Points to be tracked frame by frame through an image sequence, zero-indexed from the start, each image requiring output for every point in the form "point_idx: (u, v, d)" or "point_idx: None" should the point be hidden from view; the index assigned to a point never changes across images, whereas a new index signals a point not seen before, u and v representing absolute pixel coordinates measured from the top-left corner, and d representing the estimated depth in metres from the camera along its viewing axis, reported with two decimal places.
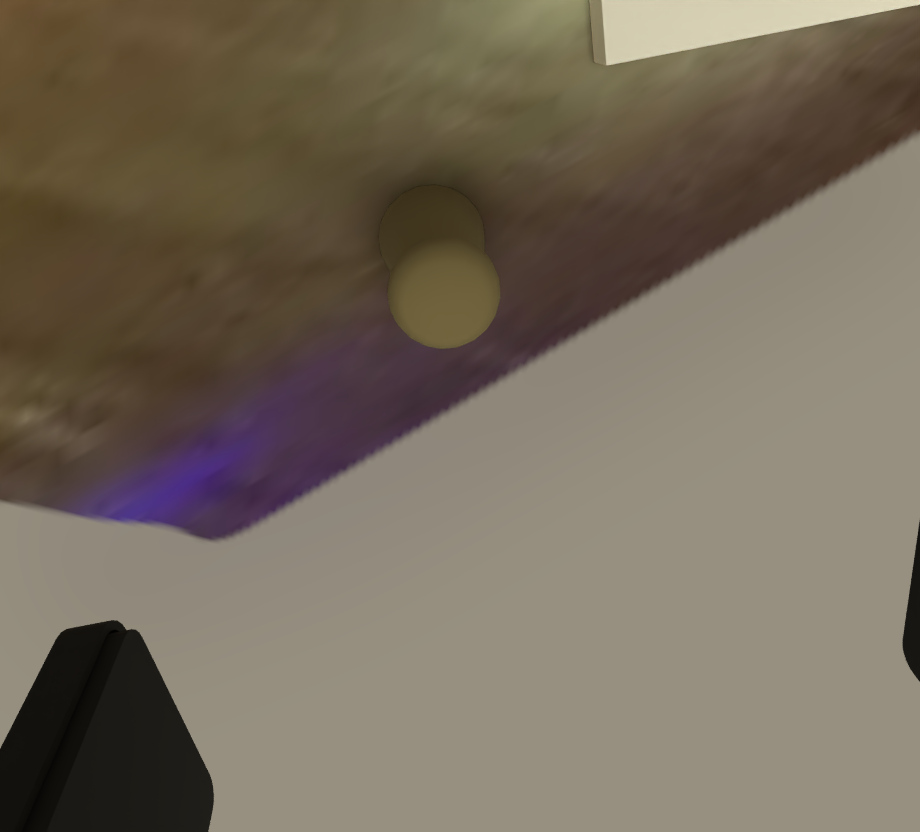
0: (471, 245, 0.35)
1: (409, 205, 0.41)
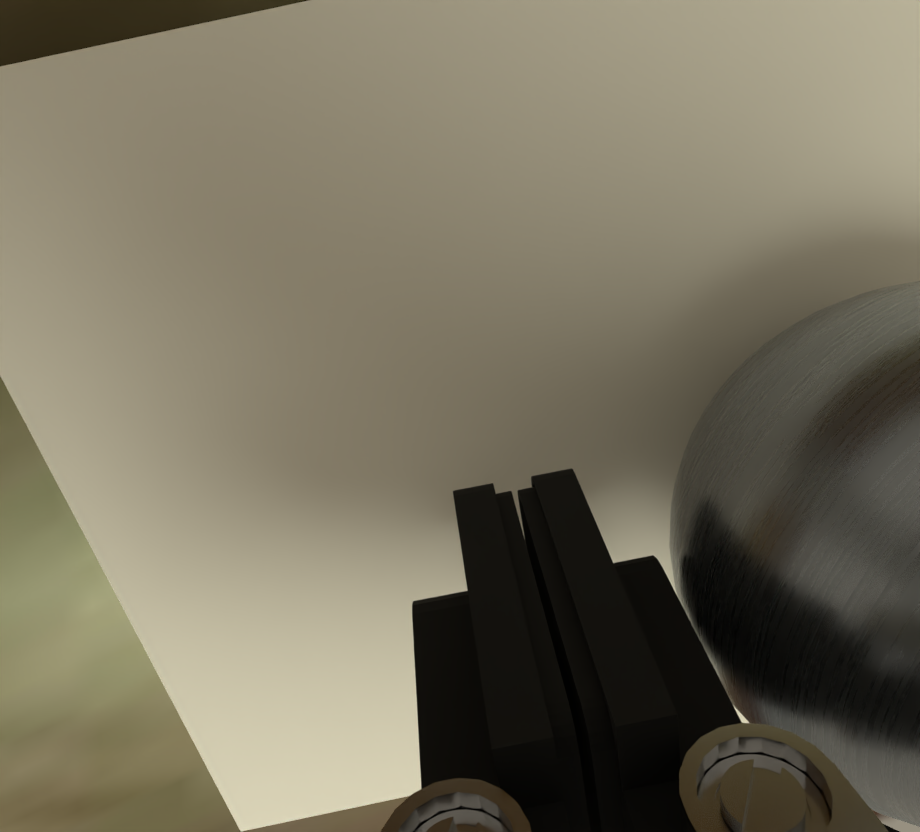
0: None
1: None
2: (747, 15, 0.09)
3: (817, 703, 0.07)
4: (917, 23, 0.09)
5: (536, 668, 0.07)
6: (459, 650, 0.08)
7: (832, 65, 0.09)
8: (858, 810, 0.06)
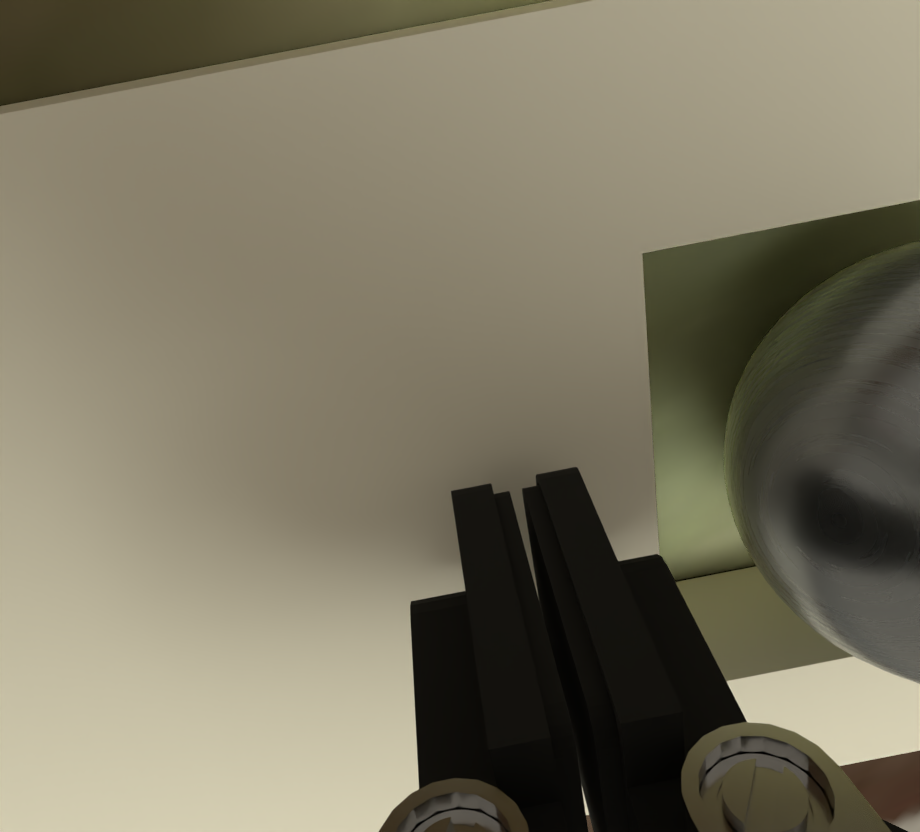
0: None
1: None
2: (385, 150, 0.08)
3: None
4: (570, 159, 0.09)
5: (534, 668, 0.07)
6: (457, 650, 0.08)
7: (486, 198, 0.09)
8: (860, 810, 0.06)
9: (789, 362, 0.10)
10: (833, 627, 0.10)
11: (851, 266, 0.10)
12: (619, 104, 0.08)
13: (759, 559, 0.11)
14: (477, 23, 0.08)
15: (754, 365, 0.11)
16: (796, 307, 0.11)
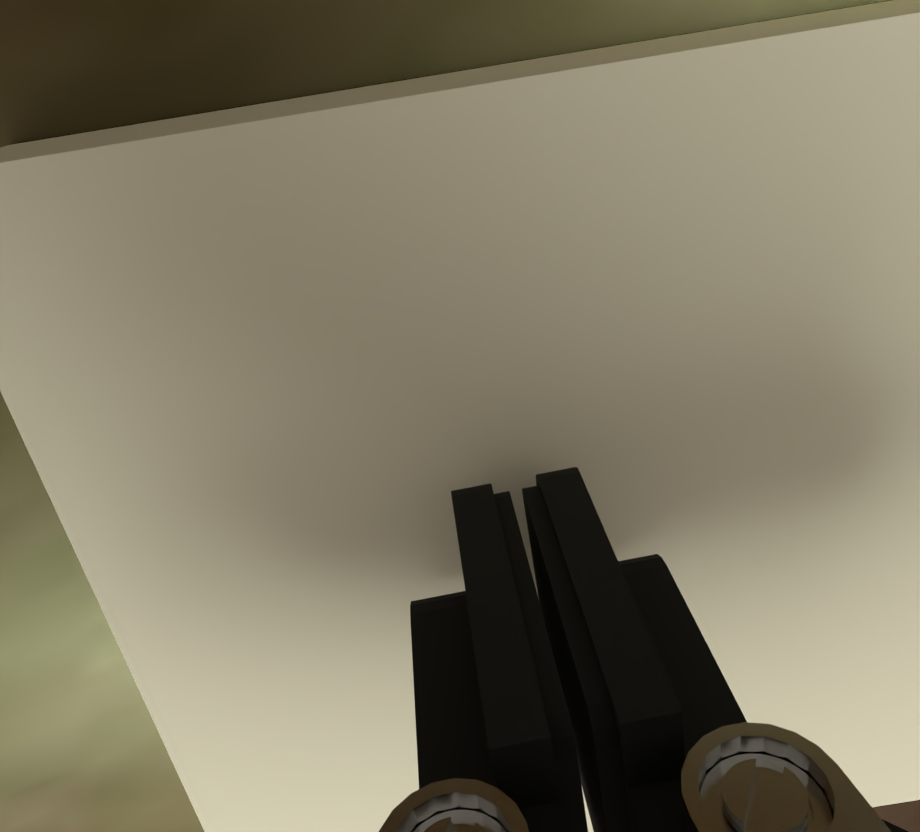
0: None
1: None
2: (812, 132, 0.09)
3: None
4: None
5: (534, 668, 0.07)
6: (457, 650, 0.08)
7: (895, 184, 0.09)
8: (860, 810, 0.06)
9: None
10: None
11: None
12: None
13: None
14: None
15: None
16: None
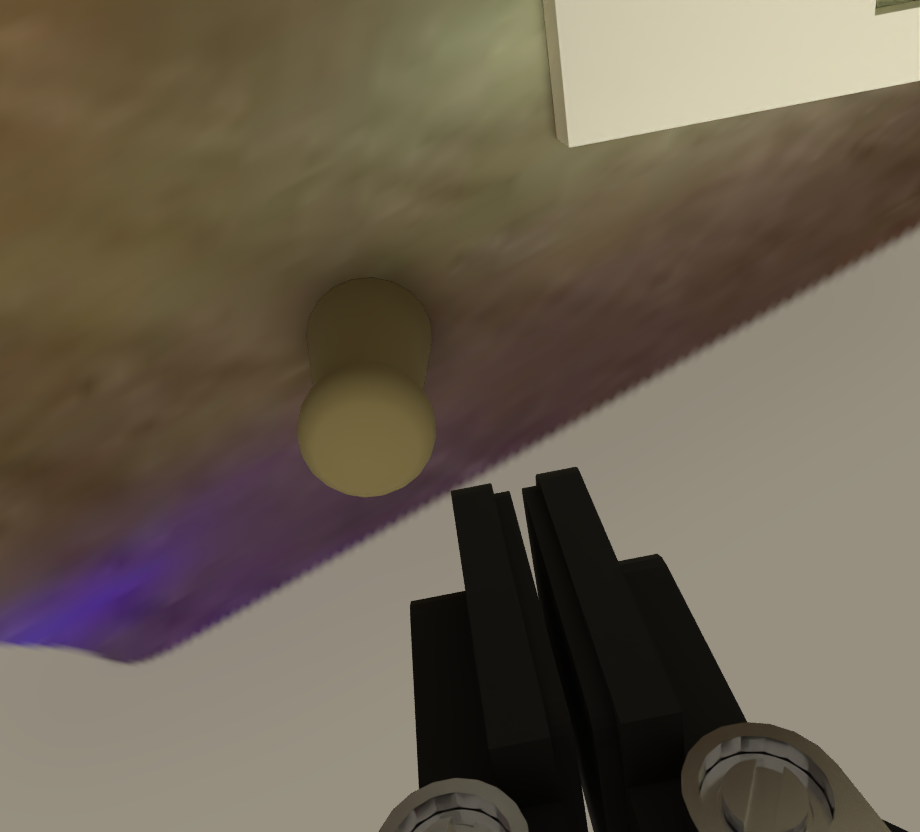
0: (397, 377, 0.28)
1: (337, 306, 0.34)
2: None
3: None
4: None
5: (534, 668, 0.07)
6: (457, 651, 0.08)
7: None
8: (860, 809, 0.06)
9: None
10: None
11: None
12: None
13: None
14: None
15: None
16: None
